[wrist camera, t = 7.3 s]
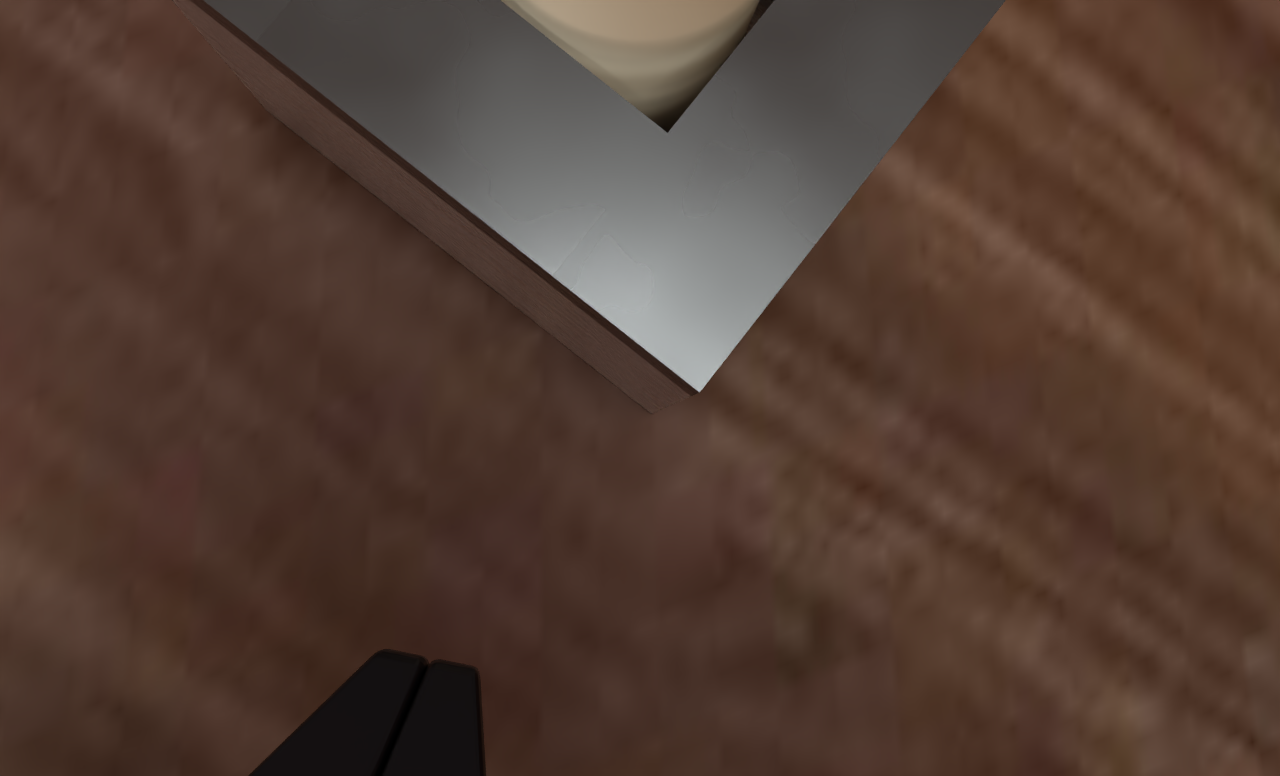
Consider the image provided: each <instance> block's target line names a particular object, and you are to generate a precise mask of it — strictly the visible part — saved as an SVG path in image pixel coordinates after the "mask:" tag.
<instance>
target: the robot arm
mask: <svg viewBox="0 0 1280 776" xmlns="http://www.w3.org/2000/svg"><path fill="white" fill-rule="evenodd" d="M249 776H486V766H485V749H484V732H483V716H482V699H481V682H480V674H479V671H478V669H477V668H476V667H474V666H471V665H466V664H461V663H456V662H451V661H446V660H441V659H439V660H434V661H432V662H431V663H430V664H429V662H428V660H427V659H426V658H425V657H423V656H421V655H416V654H411V653H406V652H401V651H396V650H391V649H383V650H380V651H378V652H376V653H375V654H374V655H373V656H371V657H370V658H369V659H368V660H367V661H366V662H365V663H364V664H363V665H362V666H361V667H360V668H359V669H358V670H357V671H356V672H355V673H354V674H353V675H352V676H351V677H350V678H349V679H348V680H347V681H345V682H344V683H343V684H342V685H341V686H340V687H339V688H338V689H337V690H336V691H335V692H334V693H333V694H332V695H331V696H330V697H329V698H328V699H327V700H326V701H325V702H324V703H323V704H322V705H321V706H320V707H319V708H318V709H317V710H316V711H315V712H314V713H313V714H311V715H310V716H309V717H308V718H307V719H306V720H305V721H304V722H303V723H302V724H301V725H300V726H299V727H298V728H297V729H296V730H295V731H294V732H293V733H292V734H291V735H290V736H289V737H288V738H287V739H286V740H285V741H284V742H283V743H282V744H281V745H280V746H279V747H277V748H276V749H275V750H274V751H273V752H272V753H271V754H270V755H269V756H268V757H267V758H266V759H265V760H264V761H263V762H262V763H261V764H260V765H259V766H258V767H257V768H256V769H255V770H254V771H253V772H252V773H251V774H250V775H249Z"/></svg>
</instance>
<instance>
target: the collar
mask: <svg viewBox="0 0 1280 776" xmlns="http://www.w3.org/2000/svg"><path fill="white" fill-rule="evenodd" d="M172 1H173V2H174V3H175V4H176V6H177V7H178V8H179V9H180V10H181V11H182V13H183V14H184V15H185V16H186V17H187V18H188V20H189V21H190V22H191V23H192V24H193V25H194V27H195V28H196V29H197V30H198V31H199V32H200V34H201V35H202V36H203V37H204V38H205V39H206V41H207V42H208V43H209V44H210V45H211V46H212V48H213V49H214V50H215V51H216V52H217V53H218V55H219V56H220V57H221V58H222V59H223V60H224V62H225V63H226V64H227V65H228V66H229V67H230V69H231V70H232V71H233V72H234V73H235V74H236V76H237V77H238V78H239V79H240V80H241V81H242V83H243V84H244V85H245V86H246V87H247V88H248V89H249V91H250V92H251V93H252V94H253V95H254V96H255V98H256V99H257V100H258V101H259V102H260V103H261V105H262V106H263V107H264V108H265V109H266V110H267V111H268V112H269V113H271V114H272V115H273V116H274V117H276V118H277V119H278V120H280V121H281V122H282V123H283V124H285V125H286V126H287V127H288V128H290V129H291V130H292V131H293V132H295V133H296V134H297V135H299V136H300V137H301V138H302V139H304V140H305V141H306V142H307V143H309V144H310V145H311V146H312V147H314V148H315V149H316V150H318V151H319V152H320V153H321V154H323V155H324V156H325V157H326V158H328V159H329V160H330V161H331V162H333V163H334V164H335V165H337V166H338V167H339V168H340V169H342V170H343V171H344V172H345V173H347V174H348V175H349V176H350V177H352V178H353V179H354V180H356V181H357V182H358V183H359V184H361V185H362V186H363V187H364V188H366V189H367V190H368V191H370V192H371V193H372V194H373V195H375V196H376V197H377V198H378V199H380V200H381V201H382V202H383V203H385V204H386V205H387V206H389V207H390V208H391V209H392V210H394V211H395V212H396V213H397V214H399V215H400V216H401V217H402V218H404V219H405V220H406V221H408V222H409V223H410V224H411V225H413V226H414V227H415V228H416V229H418V230H419V231H420V232H421V233H423V234H424V235H425V236H427V237H428V238H429V239H430V240H432V241H433V242H434V243H435V244H437V245H438V246H439V247H440V248H442V249H443V250H444V251H446V252H447V253H448V254H449V255H451V256H452V257H453V258H454V259H456V260H457V261H458V262H459V263H461V264H462V265H463V266H465V267H466V268H467V269H468V270H470V271H471V272H472V273H473V274H475V275H476V276H477V277H479V278H480V279H481V280H482V281H484V282H485V283H486V284H487V285H489V286H490V287H491V288H492V289H494V290H495V291H496V292H498V293H499V294H500V295H501V296H503V297H504V298H505V299H506V300H508V301H509V302H510V303H511V304H513V305H514V306H515V307H517V308H518V309H519V310H520V311H522V312H523V313H524V314H525V315H527V316H528V317H529V318H530V319H532V320H533V321H534V322H536V323H537V324H538V325H539V326H541V327H542V328H543V329H544V330H546V331H547V332H548V333H549V334H551V335H552V336H553V337H555V338H556V339H557V340H558V341H560V342H561V343H562V344H563V345H565V346H566V347H567V348H568V349H570V350H571V351H572V352H574V353H575V354H576V355H577V356H579V357H580V358H581V359H582V360H584V361H585V362H586V363H588V364H589V365H590V366H591V367H593V368H594V369H595V370H596V371H598V372H599V373H600V374H601V375H603V376H604V377H605V378H607V379H608V380H609V381H610V382H612V383H613V384H614V385H615V386H617V387H618V388H619V389H620V390H622V391H623V392H624V393H626V394H627V395H628V396H629V397H631V398H632V399H633V400H634V401H636V402H637V403H638V404H639V405H641V406H642V407H643V408H645V409H646V410H647V411H648V412H650V413H651V414H653V413H656V412H658V411H660V410H662V409H664V408H666V407H669V406H671V405H673V404H675V403H677V402H680V401H682V400H684V399H686V398H688V397H691V396H693V395H695V394H697V393H699V392H700V391H701V390H702V389H703V387H704V386H705V385H706V383H707V382H708V381H709V380H710V378H711V377H712V376H713V374H714V373H715V372H716V371H717V369H718V368H719V367H720V366H721V364H722V363H723V362H724V360H725V359H726V358H727V357H728V355H729V354H730V353H731V351H732V350H733V349H734V348H735V346H736V345H737V344H738V342H739V341H740V340H741V339H742V337H743V336H744V335H745V333H746V332H747V331H748V330H749V328H750V327H751V326H752V324H753V323H754V322H755V321H756V319H757V318H758V317H759V316H760V314H761V313H762V312H763V310H764V309H765V308H766V307H767V305H768V304H769V303H770V301H771V300H772V299H773V298H774V296H775V295H776V294H777V292H778V291H779V290H780V289H781V287H782V286H783V285H784V283H785V282H786V281H787V280H788V278H789V277H790V276H791V275H792V273H793V272H794V271H795V269H796V268H797V267H798V266H799V264H800V263H801V262H802V260H803V259H804V258H805V257H806V255H807V254H808V253H809V251H810V250H811V249H812V248H813V246H814V245H815V244H816V242H817V241H818V240H819V239H820V237H821V236H822V235H823V234H824V232H825V231H826V230H827V228H828V227H829V226H830V225H831V223H832V222H833V221H834V219H835V218H836V217H837V216H838V214H839V213H840V212H841V210H842V209H843V208H844V207H845V205H846V204H847V203H848V201H849V200H850V199H851V198H852V196H853V195H854V194H855V192H856V191H857V190H858V189H859V187H860V186H861V185H862V184H863V182H864V181H865V180H866V178H867V177H868V176H869V175H870V173H871V172H872V171H873V169H874V168H875V167H876V166H877V164H878V163H879V162H880V160H881V159H882V158H883V157H884V155H885V154H886V153H887V151H888V150H889V149H890V148H891V146H892V145H893V144H894V143H895V141H896V140H897V139H898V137H899V136H900V135H901V134H902V132H903V131H904V130H905V128H906V127H907V126H908V125H909V123H910V122H911V121H912V119H913V118H914V117H915V116H916V114H917V113H918V112H919V110H920V109H921V108H922V107H923V105H924V104H925V103H926V102H927V100H928V99H929V98H930V96H931V95H932V94H933V93H934V91H935V90H936V89H937V87H938V86H939V85H940V84H941V82H942V81H943V80H944V78H945V77H946V76H947V75H948V73H949V72H950V71H951V69H952V68H953V67H954V66H955V64H956V63H957V62H958V61H959V59H960V58H961V57H962V55H963V54H964V53H965V52H966V50H967V49H968V48H969V46H970V45H971V44H972V43H973V41H974V40H975V39H976V37H977V36H978V35H979V34H980V32H981V31H982V30H983V28H984V27H985V26H986V25H987V23H988V22H989V21H990V19H991V18H992V17H993V16H994V14H995V13H996V12H997V11H998V9H999V8H1000V7H1001V5H1002V4H1003V3H1004V2H1005V0H759V3H758V5H757V7H756V10H755V12H754V14H753V17H752V19H751V21H750V23H749V26H748V28H747V30H746V33H745V35H746V36H745V37H744V39H743V40H742V41H741V42H740V44H739V45H738V46H737V47H736V49H735V50H734V51H733V52H732V54H731V55H730V56H729V57H728V59H727V60H726V61H725V62H724V64H723V65H722V66H721V67H720V69H719V70H718V71H717V72H716V73H715V75H714V76H713V77H712V78H711V80H710V81H709V82H708V83H707V85H706V86H705V87H704V88H703V90H702V91H701V92H700V93H699V95H698V96H697V97H696V98H695V100H694V101H693V102H692V103H691V105H690V106H689V107H688V108H687V109H686V111H685V112H684V113H683V114H682V116H681V117H680V118H679V119H678V121H677V122H676V123H675V124H674V126H673V127H672V128H671V129H670V131H669V132H668V133H667V132H666V131H664V130H663V129H662V128H661V127H659V126H658V125H657V124H656V123H654V122H653V121H652V120H651V119H649V118H648V117H647V116H645V115H644V114H643V113H642V112H640V111H639V110H638V109H637V108H635V107H634V106H633V105H632V104H630V103H629V102H628V101H627V100H625V99H624V98H623V97H622V96H620V95H619V94H618V93H617V92H615V91H614V90H613V89H612V88H610V87H609V86H608V85H606V84H605V83H604V82H603V81H601V80H600V79H599V78H598V77H596V76H595V75H594V74H593V73H591V72H590V71H589V70H588V69H586V68H585V67H584V66H583V65H581V64H580V63H579V62H578V61H576V60H575V59H574V58H573V57H571V56H570V55H569V54H567V53H566V52H565V51H564V50H562V49H561V48H560V47H559V46H557V45H556V44H555V43H554V42H552V41H551V40H550V39H549V38H547V37H546V36H545V35H544V34H542V33H541V32H540V31H539V30H537V29H536V28H535V27H534V26H532V25H531V24H530V23H528V22H527V21H526V20H525V19H523V18H522V17H521V16H520V15H518V14H517V13H516V12H515V11H513V10H512V9H511V8H510V7H508V6H507V5H506V4H505V3H503V2H502V1H501V0H172Z"/></svg>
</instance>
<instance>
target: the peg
mask: <svg viewBox="0 0 1280 776" xmlns="http://www.w3.org/2000/svg"><path fill="white" fill-rule="evenodd" d="M501 1H502V2H503V3H505V4H506V5H507V6H508V7H510V8H511V9H512V10H513V11H515V12H516V13H517V14H518V15H520V16H521V17H522V18H523V19H525V20H526V21H527V22H528V23H530V24H531V25H532V26H534V27H535V28H536V29H537V30H539V31H540V32H541V33H542V34H544V35H545V36H546V37H547V38H549V39H550V40H551V41H552V42H554V43H555V44H556V45H557V46H559V47H560V48H561V49H562V50H564V51H565V52H566V53H567V54H569V55H570V56H571V57H573V58H574V59H575V60H576V61H578V62H579V63H580V64H581V65H583V66H584V67H585V68H586V69H588V70H589V71H590V72H591V73H593V74H594V75H595V76H596V77H598V78H599V79H600V80H601V81H603V82H604V83H605V84H606V85H608V86H609V87H610V88H612V89H613V90H614V91H615V92H617V93H618V94H619V95H620V96H622V97H623V98H624V99H625V100H627V101H628V102H629V103H630V104H632V105H633V106H634V107H635V108H637V109H638V110H639V111H640V112H642V113H643V114H644V115H645V116H647V117H648V118H649V119H651V120H652V121H653V122H654V123H656V124H657V125H658V126H659V127H661V128H662V129H663V130H664V131H666V132H667V133H668V132H669V131H670V129H671V128H672V127H673V126H674V124H675V123H676V122H677V121H678V119H679V118H680V117H681V116H682V114H683V113H684V112H685V111H686V109H687V108H688V107H689V106H690V105H691V103H692V102H693V101H694V100H695V98H696V97H697V96H698V95H699V93H700V92H701V91H702V90H703V88H704V87H705V86H706V85H707V83H708V82H709V81H710V80H711V78H712V77H713V76H714V75H715V73H716V72H717V71H718V70H719V69H720V67H721V66H722V65H723V64H724V62H725V61H726V60H727V59H728V57H729V56H730V55H731V54H732V52H733V51H734V50H735V49H736V47H737V46H738V45H739V44H740V42H741V41H742V40H743V37H744V35H745V33H746V30H747V28H748V26H749V23H750V21H751V19H752V17H753V14H754V12H755V10H756V7H757V5H758V3H759V0H501Z"/></svg>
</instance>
